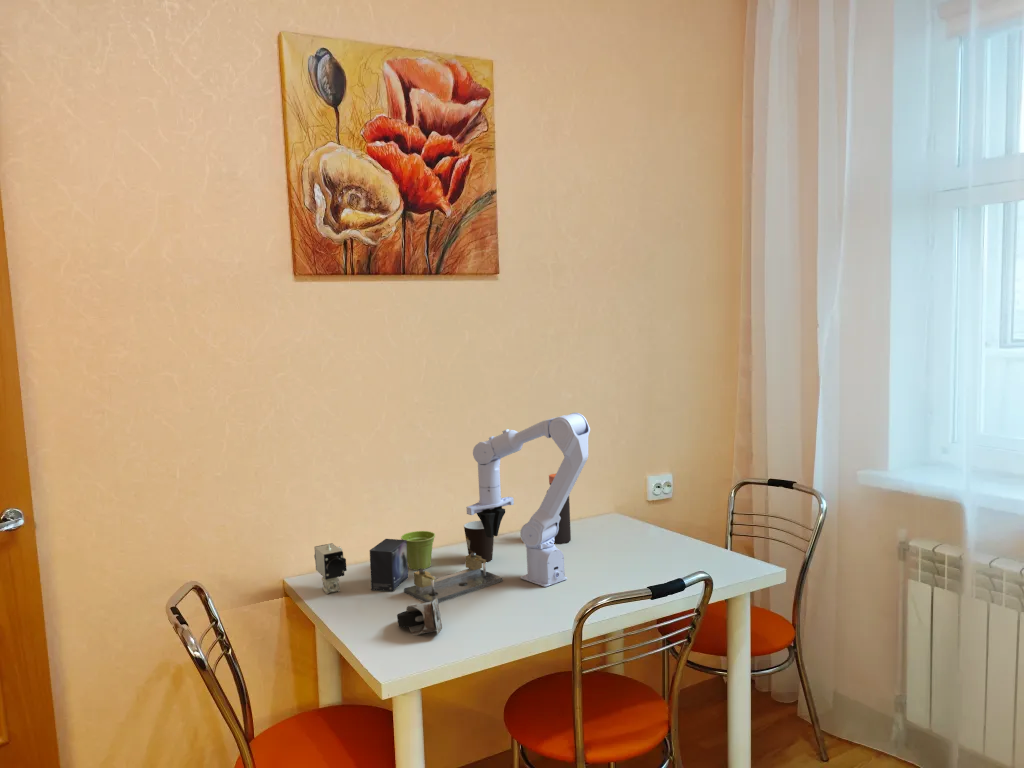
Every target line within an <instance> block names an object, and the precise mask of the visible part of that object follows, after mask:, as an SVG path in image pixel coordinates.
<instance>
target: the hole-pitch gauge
mask: <svg viewBox="0 0 1024 768" xmlns="http://www.w3.org/2000/svg"><path fill="white" fill-rule="evenodd" d="M431 573H432V572H429V571H426V569H418V571H417V570H416V571H415V572H413V584H414V585H411V586H409V587H406V588H404V589H403V593H404V594H406V595H408V596H410V597H413V598H415V599H417V600H419V601H421V602H423V603H426V602H433V601H434V600H435V599H436V598H437V600H438V604H439V603H441V602H445V601H448V600H451V599H454V598H456V597H457V598H458V597H460V596H462V595H466V594H469V593H471V592H475V591H478V590H480V589H484V588H486V587H490V586H492V585H495V584H499V583H501V582H504V580H503V579H504V577H502V576H499V575H498V574H495V573H491V572H489V571H486V576H484V572H483V569H482V568H480V569H477V570H472V569H469V568H465V569H463V570H459V571H456V572H453V573H450V574H446V575H443V576H441V577H437V578H436V577H435V576H433V575H432V574H431Z"/></svg>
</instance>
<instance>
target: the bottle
mask: <svg viewBox="0 0 1024 768" xmlns="http://www.w3.org/2000/svg"><path fill="white" fill-rule="evenodd" d="M555 475H556V473H551V474H549V475H548V483H549V486H550V485H551V483H552V481H553V479H554V477H555ZM547 491H548V489H547ZM547 491H546V492H547ZM570 509H571V507H570V495H569V496H568V498H567V500H566V502H565V504H564V506H563V508H562V510H561V512H560V514H559V516H560V517H561V519H560V521H559V525H558V526H559V529H558V533H557V535H556V536H555V537H554V539H555V541H554V543H557V544H556V545H558V544H559V545H562V543H564V544H567V543H569V541H570V542H571V541H572V536H571V533H572V530H571V512H570V511H571V510H570Z"/></svg>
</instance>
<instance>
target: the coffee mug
mask: <svg viewBox="0 0 1024 768" xmlns="http://www.w3.org/2000/svg"><path fill="white" fill-rule="evenodd" d="M463 529H464V535H465V542H466V547H467V553H468V555H470V554H471V553H473V552H474V553H476V555H478V556H481V557H482V559H485V560H486V562H487V563H490V562H492V561H493V555H494V554H493V552H494V538H495V536H493V537H492V538H490V537H486V533H485V530H484V527H483V524H482V522H481V520H473V521H468V522H466V523H464V524H463ZM491 560H492V561H491ZM482 564H483V562H482Z"/></svg>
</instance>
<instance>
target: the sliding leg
mask: <svg viewBox="0 0 1024 768" xmlns="http://www.w3.org/2000/svg"><path fill="white" fill-rule="evenodd" d="M464 558H465V559H464V561H465V569H472V570H477V569H482V570H483V572H484V576H486V572H487V570H486V569H487V568H486V567H487V566H486V564H487V563H486V560H485V559H482V557H481V556H478V555H476V553H474V552H473V553H471V554H470V555H469V554H468V555H465V556H464ZM482 562H483V563H482Z"/></svg>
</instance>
